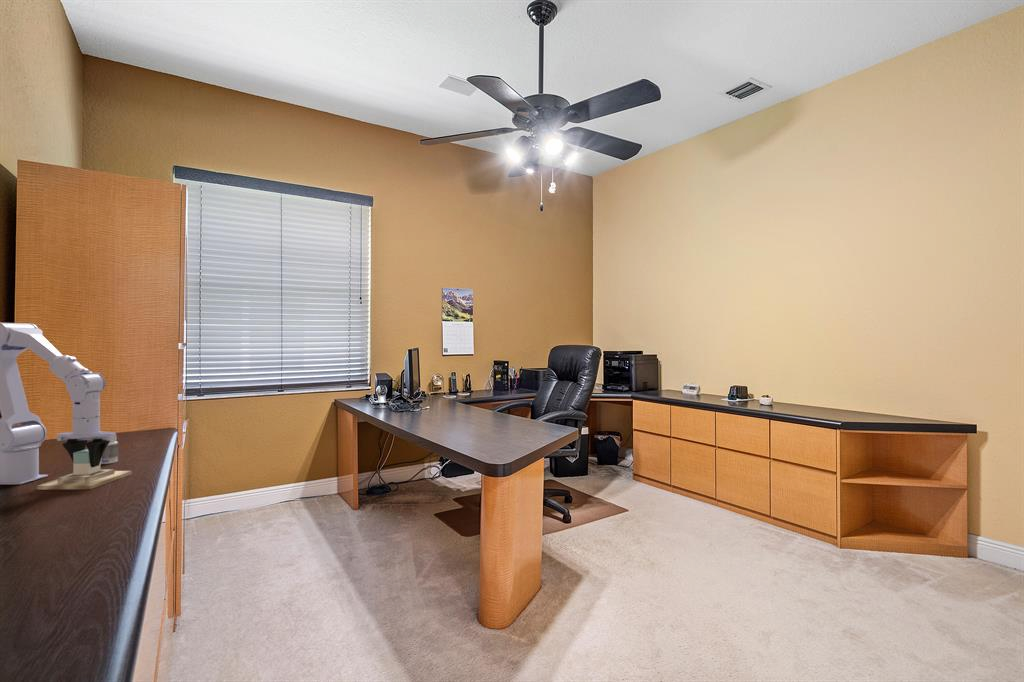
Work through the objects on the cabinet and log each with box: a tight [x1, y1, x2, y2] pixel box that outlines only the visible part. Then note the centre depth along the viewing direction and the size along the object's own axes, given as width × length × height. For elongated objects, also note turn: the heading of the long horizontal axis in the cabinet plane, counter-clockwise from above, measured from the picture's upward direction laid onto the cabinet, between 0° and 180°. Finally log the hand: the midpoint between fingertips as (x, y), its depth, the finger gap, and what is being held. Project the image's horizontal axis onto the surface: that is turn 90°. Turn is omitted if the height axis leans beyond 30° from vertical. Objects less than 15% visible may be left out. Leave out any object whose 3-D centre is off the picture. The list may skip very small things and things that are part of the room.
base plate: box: [36, 468, 133, 491], centre depth 134 cm, size 14×14×2 cm
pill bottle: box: [100, 438, 119, 465], centre depth 155 cm, size 5×5×8 cm
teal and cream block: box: [72, 448, 101, 475], centre depth 134 cm, size 4×4×6 cm
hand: (86, 466), depth 134 cm, fingers closed on teal and cream block, 4 cm apart
